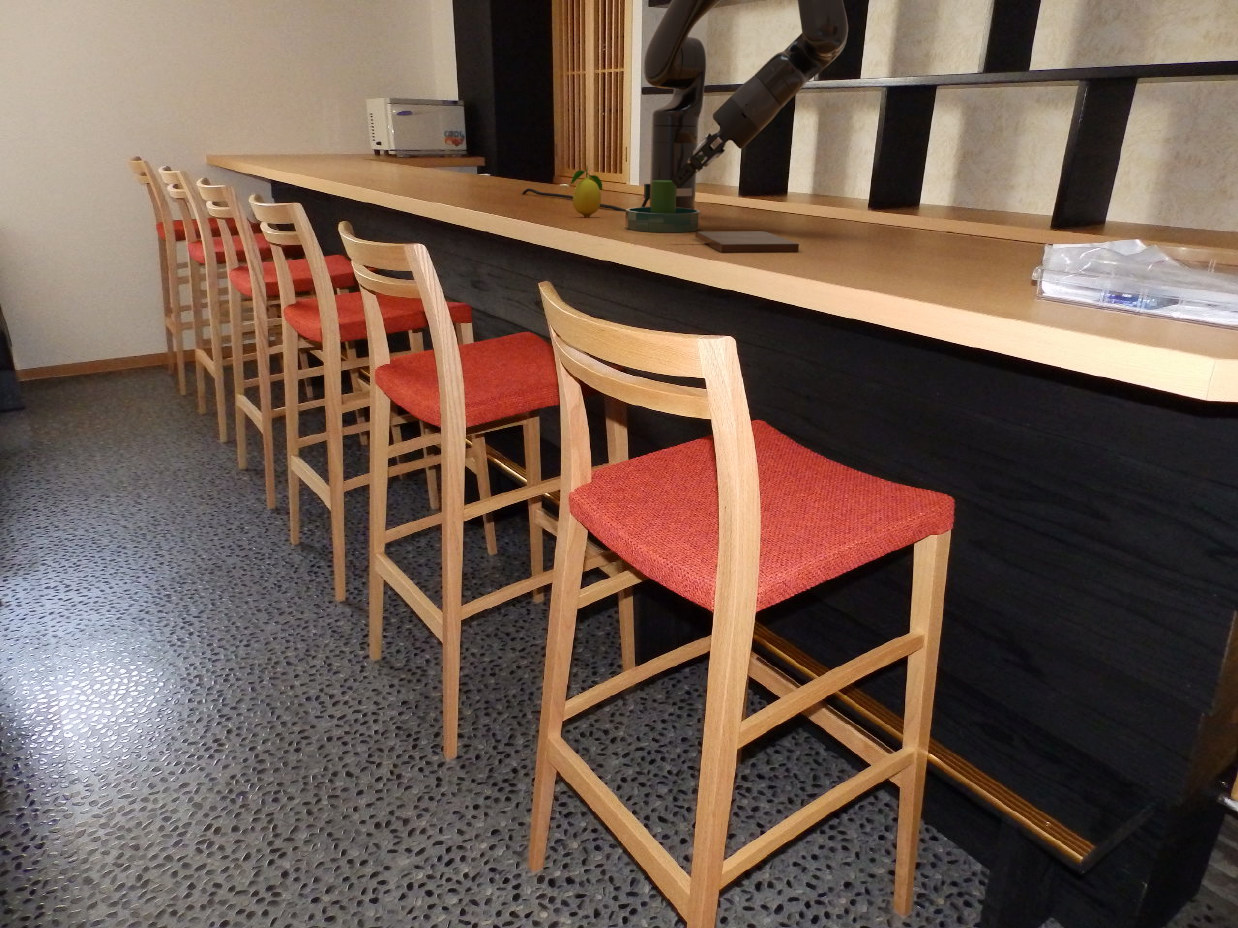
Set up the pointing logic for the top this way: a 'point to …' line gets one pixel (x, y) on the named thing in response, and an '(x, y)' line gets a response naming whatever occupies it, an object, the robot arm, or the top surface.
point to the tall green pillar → (663, 197)
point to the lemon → (587, 193)
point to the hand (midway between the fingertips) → (676, 182)
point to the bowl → (662, 220)
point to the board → (747, 241)
